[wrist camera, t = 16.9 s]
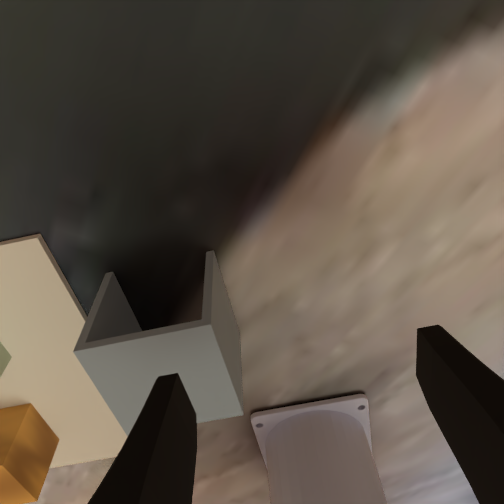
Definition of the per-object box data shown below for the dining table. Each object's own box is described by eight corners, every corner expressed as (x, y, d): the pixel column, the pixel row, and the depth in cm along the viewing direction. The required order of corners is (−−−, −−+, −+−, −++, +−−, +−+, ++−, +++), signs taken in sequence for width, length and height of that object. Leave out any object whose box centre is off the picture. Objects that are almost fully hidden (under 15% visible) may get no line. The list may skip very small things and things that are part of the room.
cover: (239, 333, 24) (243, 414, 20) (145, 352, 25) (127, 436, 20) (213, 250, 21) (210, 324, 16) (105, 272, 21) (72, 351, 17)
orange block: (59, 439, 28) (37, 501, 25) (4, 449, 28) (-26, 511, 25) (30, 403, 26) (2, 465, 23) (-29, 413, 26) (-67, 477, 23)
